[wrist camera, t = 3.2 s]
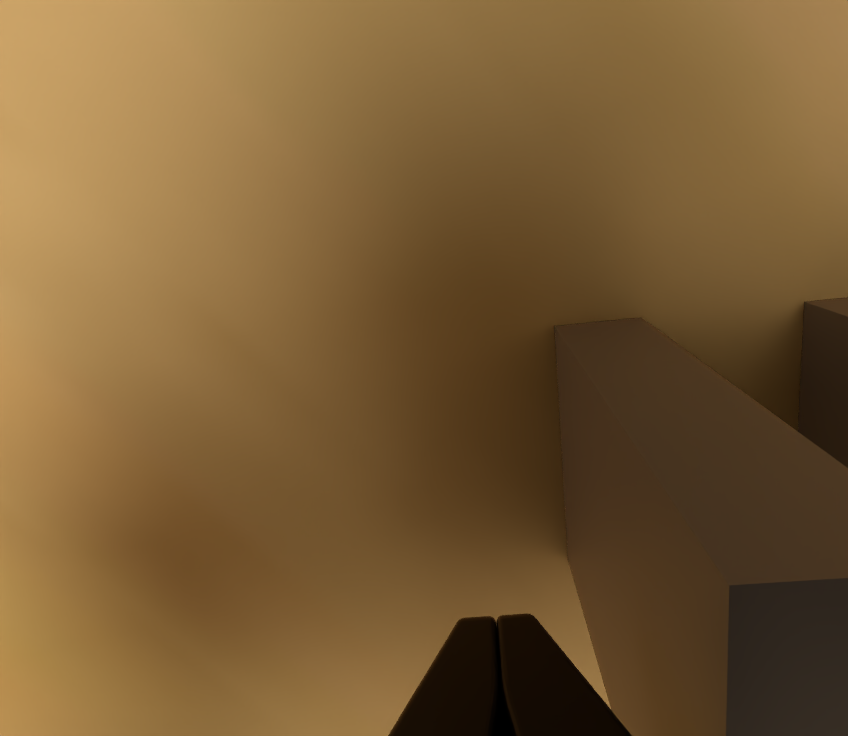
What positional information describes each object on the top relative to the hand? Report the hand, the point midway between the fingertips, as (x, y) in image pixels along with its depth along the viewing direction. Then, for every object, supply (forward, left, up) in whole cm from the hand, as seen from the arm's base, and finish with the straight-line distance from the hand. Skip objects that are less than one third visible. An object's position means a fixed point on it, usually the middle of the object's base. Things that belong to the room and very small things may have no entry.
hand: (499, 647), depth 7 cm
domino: (0, -2, -6) cm, 6 cm away
